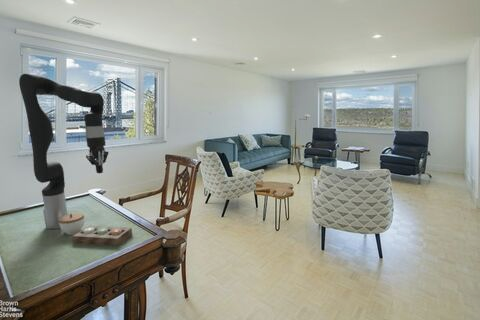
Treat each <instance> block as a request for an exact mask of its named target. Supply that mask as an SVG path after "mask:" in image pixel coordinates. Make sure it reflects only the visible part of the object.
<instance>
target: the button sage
mask: <svg viewBox="0 0 480 320" xmlns="http://www.w3.org/2000/svg"><path fill="white" fill-rule="evenodd" d="M107 232H108V229H107V228H103V229H99V230H98V231H97V234H101V235H104V234H106V233H107Z"/></svg>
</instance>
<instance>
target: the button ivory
mask: <svg viewBox="0 0 480 320" xmlns="http://www.w3.org/2000/svg"><path fill="white" fill-rule="evenodd" d="M86 228H87V227H86ZM83 229H84V230H83ZM83 229H82V230H83V232H84V234H91V233H92V232H94V228H87V229H85V228H83Z"/></svg>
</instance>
